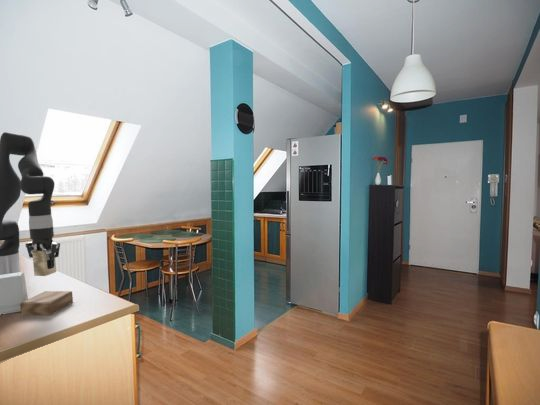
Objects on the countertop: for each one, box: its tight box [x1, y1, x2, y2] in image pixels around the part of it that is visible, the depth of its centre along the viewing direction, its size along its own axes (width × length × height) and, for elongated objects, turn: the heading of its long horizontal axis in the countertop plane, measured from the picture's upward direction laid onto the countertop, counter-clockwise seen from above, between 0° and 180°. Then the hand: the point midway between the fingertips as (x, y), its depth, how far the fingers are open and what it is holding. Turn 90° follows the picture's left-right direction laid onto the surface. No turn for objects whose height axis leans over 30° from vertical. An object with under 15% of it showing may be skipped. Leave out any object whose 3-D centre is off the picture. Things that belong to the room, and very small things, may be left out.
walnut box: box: [20, 290, 74, 316], centre depth 120 cm, size 12×12×5 cm
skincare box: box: [0, 271, 29, 316], centre depth 118 cm, size 8×6×15 cm
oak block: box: [32, 249, 57, 277], centre depth 119 cm, size 5×5×10 cm
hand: (44, 267), depth 119 cm, fingers closed on oak block, 5 cm apart
